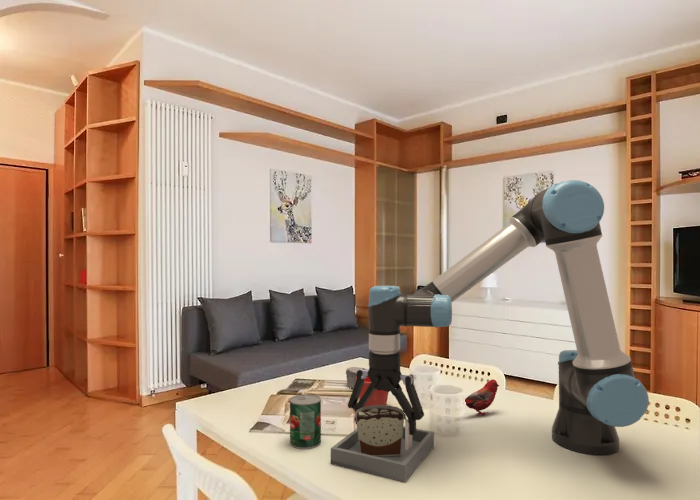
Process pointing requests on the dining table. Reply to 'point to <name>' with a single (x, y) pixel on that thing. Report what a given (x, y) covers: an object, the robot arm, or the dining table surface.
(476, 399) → the decorative bird figurine
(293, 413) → the canned tomato
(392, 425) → the food container
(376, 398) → the flower pot
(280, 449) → the dining table surface
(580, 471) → the dining table surface
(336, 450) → the tray
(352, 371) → the decorative stone
